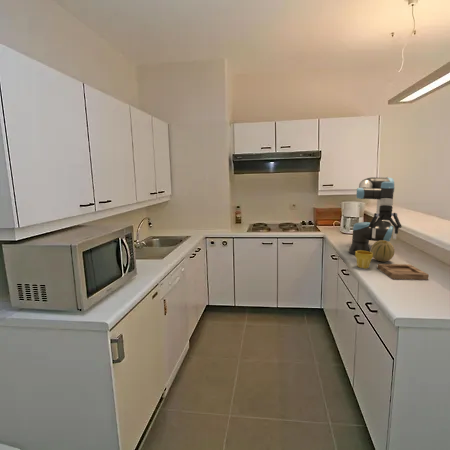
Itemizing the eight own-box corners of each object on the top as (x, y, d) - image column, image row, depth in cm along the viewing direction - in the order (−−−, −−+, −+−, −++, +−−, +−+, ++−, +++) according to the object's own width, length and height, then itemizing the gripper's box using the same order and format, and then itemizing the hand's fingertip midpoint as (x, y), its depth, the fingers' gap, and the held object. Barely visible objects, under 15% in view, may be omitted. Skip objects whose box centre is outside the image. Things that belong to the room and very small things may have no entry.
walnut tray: (377, 268, 204) (377, 264, 203) (409, 269, 203) (410, 264, 203) (392, 279, 184) (393, 274, 184) (428, 279, 184) (428, 274, 183)
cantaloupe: (381, 257, 230) (382, 237, 227) (398, 263, 216) (400, 241, 214) (364, 259, 224) (366, 238, 222) (381, 265, 211) (384, 243, 208)
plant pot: (363, 264, 214) (364, 249, 212) (375, 268, 204) (376, 253, 202) (350, 265, 210) (351, 251, 208) (362, 270, 200) (364, 255, 199)
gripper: (364, 205, 214) (362, 237, 213) (403, 203, 194) (400, 238, 192) (370, 207, 219) (368, 238, 217) (409, 205, 198) (406, 239, 197)
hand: (383, 238), depth 205 cm, fingers open, 13 cm apart
